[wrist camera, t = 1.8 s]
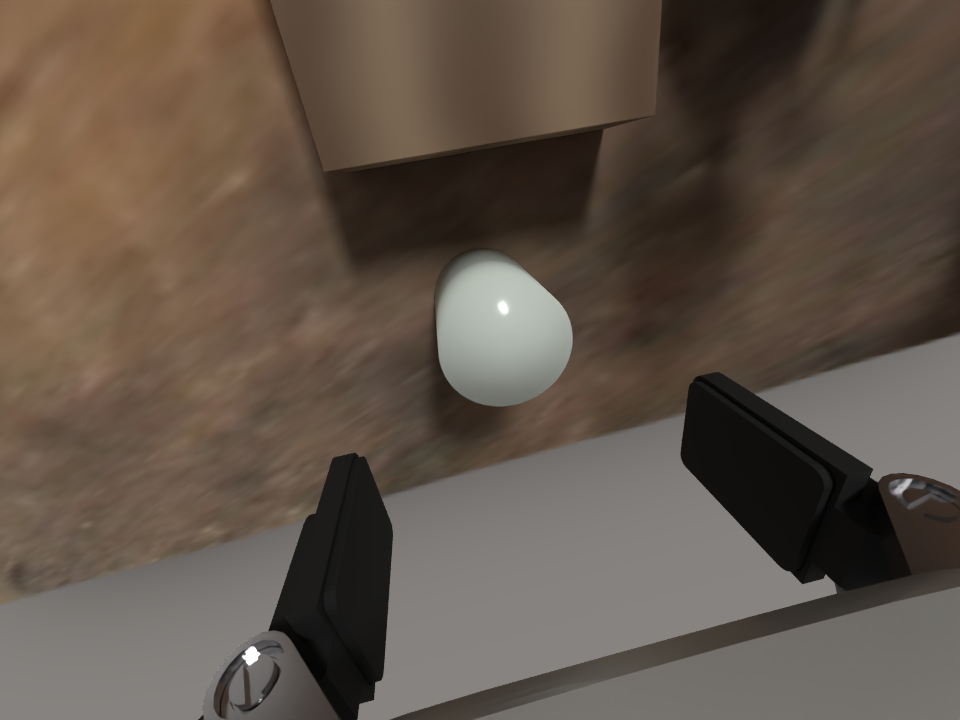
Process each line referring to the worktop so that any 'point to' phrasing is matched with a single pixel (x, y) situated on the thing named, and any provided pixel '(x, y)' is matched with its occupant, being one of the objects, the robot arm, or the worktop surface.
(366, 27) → the brown wooden block
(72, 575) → the worktop surface
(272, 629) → the robot arm
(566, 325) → the white rounded capsule
